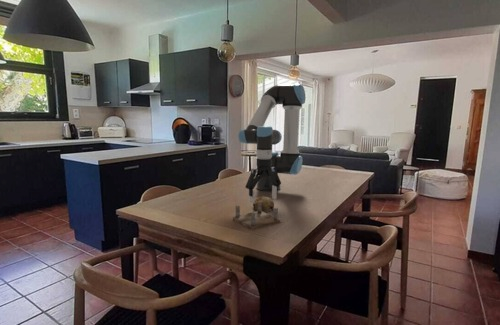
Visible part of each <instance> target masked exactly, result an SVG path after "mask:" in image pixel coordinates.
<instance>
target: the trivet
mask: <svg viewBox="0 0 500 325" xmlns="http://www.w3.org/2000/svg"><path fill="white" fill-rule="evenodd" d="M261 205H262V202H261V201H258V210H255V211H253V212H248V213H243V214H240V213H241V212H240V211H241V206H240V205H235V215H234V216H233V217H232V219H233V220H234V221H235V222H237V223H239V224H241V225H242V226H244V227H246V228H248V229H249V230H251V231H255V230H259V229H261V228H267V227H269V226H273V225H276V224H280V223H281V219H279V208H278V207H274V208H273V215H270V214H268V213H266V212H265V211H261Z"/></svg>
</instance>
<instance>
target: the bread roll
mask: <svg viewBox="0 0 500 325" xmlns="http://www.w3.org/2000/svg"><path fill="white" fill-rule="evenodd" d="M258 201H261V202H262V205H261V211H262V212H271V211H272V210H274V208H275V202H274V201H273V199H272V198H270V197H269V196H259V197H257V198H256V199H255V203H252V206H253V208H254V210H255V211H258Z"/></svg>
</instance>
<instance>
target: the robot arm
mask: <svg viewBox="0 0 500 325" xmlns="http://www.w3.org/2000/svg"><path fill="white" fill-rule="evenodd" d="M305 103H306V91H305V88H304V86H303V84H301V83H286V84H276V85H273V86H271V87H270V88H268V89H267V90H266V91H265V92H264V94H262V96H261V98H260V103H259V105H258V107H257V109H256V111H255V113H253V116H252V118H251V119H250V122H249V124H248V125H247V127H246V129H245V128H243V129H240V130H239V131H238V137H237V138H238V141H239V142H240V143H241V144H246V145H249V144H250V145H256V164H255V165H256V168H251V169H250V174H249V178H248V180H247V181H246V184H245V189H247V190H248V196H249V202H250V203H251V204H253V203H255V200H256V199H255V198H256V197H255V196H256V195H255V192H256V190H255V187H256V189H257V190H260V191H263V192H264V191H265V192H271V199H272V200H273V199H274V200H277V193H278V191H279V190H280V189H281V185H282V181H281V180H280V177H279V174H283V175H292V176H293V175H294V176H295V175H298V174H299V173H300V172H301V169H302V167H303V156H301V155H300V151H299V150H298V145H299V141H298V140H299V122H300V120H299V119H300V110H301V109H302V108H303V105H304V104H305ZM277 105H282V106H281V107H282V109H283V110H284V121H283V122H284V123H283V145H282V146H283V148H282V150H281V151H280V154H279V152H278V151H273V146H275V145H277V144H279V143H280V142H281V141H282V133H281V131H279V130H277V129H273V127H272V126H267V125H265V124H266V121H267V119H268V117H269V115H270V113H271V111H272V110H273V108H275V107H276V106H277Z"/></svg>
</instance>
